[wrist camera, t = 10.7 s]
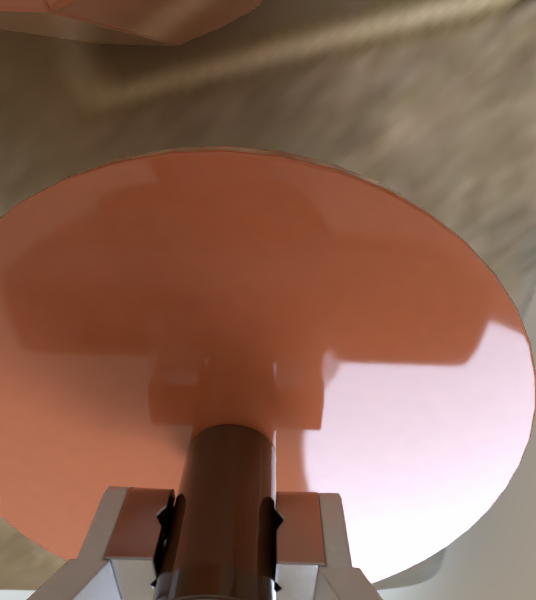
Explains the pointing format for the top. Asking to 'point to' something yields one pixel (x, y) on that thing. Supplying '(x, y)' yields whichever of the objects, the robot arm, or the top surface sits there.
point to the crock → (122, 19)
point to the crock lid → (252, 362)
